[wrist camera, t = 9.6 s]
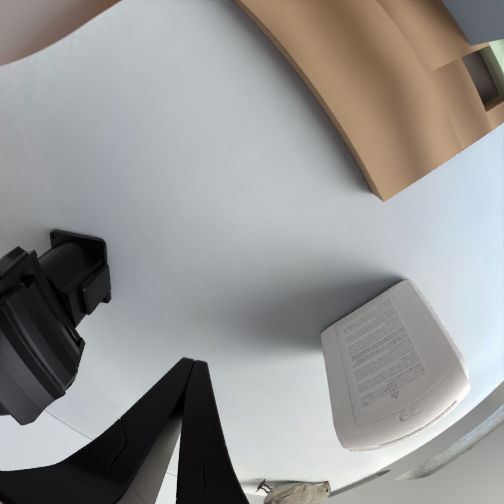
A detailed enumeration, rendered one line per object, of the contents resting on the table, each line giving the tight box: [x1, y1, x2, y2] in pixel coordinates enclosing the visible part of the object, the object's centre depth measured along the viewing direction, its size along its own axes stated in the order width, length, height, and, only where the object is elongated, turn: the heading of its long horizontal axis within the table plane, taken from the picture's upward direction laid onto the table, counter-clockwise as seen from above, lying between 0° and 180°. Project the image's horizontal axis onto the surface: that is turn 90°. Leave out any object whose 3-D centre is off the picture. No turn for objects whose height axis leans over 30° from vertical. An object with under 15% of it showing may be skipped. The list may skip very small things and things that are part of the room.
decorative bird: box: [256, 480, 331, 504], centre depth 41 cm, size 5×16×8 cm, turn 79°
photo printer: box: [321, 280, 471, 451], centre depth 18 cm, size 10×4×12 cm, turn 130°
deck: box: [233, 0, 504, 202], centre depth 10 cm, size 24×18×5 cm
